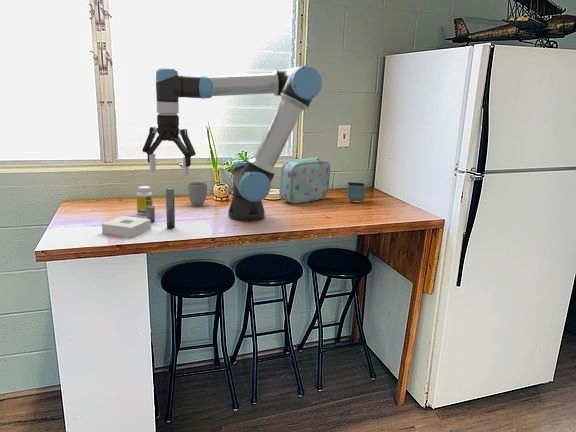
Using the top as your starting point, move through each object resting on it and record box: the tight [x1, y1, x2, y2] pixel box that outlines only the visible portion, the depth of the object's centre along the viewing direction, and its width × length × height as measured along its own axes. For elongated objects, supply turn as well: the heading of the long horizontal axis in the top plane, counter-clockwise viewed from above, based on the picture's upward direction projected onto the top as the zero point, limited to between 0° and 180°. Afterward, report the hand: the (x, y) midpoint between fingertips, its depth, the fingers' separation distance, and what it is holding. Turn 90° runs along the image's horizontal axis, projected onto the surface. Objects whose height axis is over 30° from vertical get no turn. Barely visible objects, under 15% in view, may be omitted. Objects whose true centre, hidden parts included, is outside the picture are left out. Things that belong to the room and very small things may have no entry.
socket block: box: [101, 215, 152, 238], centre depth 170 cm, size 12×12×4 cm
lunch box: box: [279, 156, 331, 205], centre depth 227 cm, size 27×10×21 cm, turn 133°
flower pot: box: [346, 181, 368, 202], centre depth 230 cm, size 9×9×9 cm
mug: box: [186, 181, 208, 207], centre depth 213 cm, size 12×9×10 cm
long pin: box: [165, 187, 176, 230], centre depth 175 cm, size 3×3×15 cm
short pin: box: [146, 205, 156, 224], centre depth 183 cm, size 3×3×6 cm
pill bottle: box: [136, 185, 154, 216], centre depth 194 cm, size 6×6×11 cm
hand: (169, 173), depth 172 cm, fingers open, 13 cm apart
